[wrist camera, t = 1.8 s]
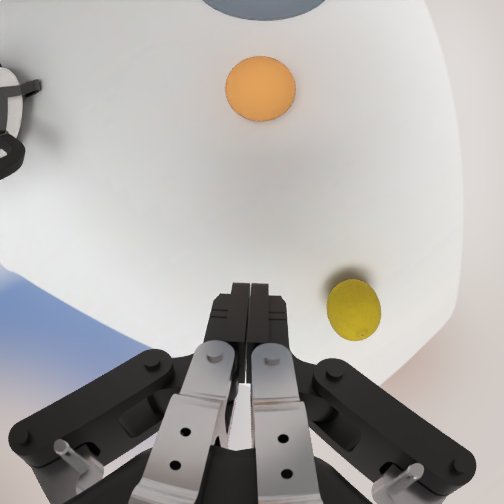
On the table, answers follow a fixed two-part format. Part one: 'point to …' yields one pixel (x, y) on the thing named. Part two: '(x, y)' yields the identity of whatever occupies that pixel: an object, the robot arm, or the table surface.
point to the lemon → (353, 310)
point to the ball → (260, 88)
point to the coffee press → (12, 120)
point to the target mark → (263, 8)
